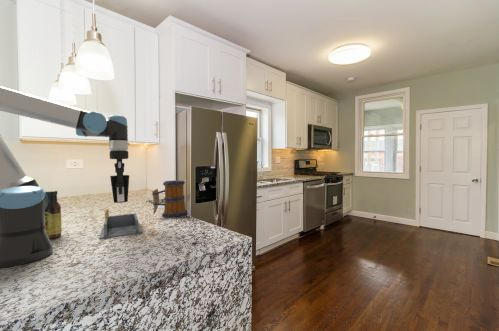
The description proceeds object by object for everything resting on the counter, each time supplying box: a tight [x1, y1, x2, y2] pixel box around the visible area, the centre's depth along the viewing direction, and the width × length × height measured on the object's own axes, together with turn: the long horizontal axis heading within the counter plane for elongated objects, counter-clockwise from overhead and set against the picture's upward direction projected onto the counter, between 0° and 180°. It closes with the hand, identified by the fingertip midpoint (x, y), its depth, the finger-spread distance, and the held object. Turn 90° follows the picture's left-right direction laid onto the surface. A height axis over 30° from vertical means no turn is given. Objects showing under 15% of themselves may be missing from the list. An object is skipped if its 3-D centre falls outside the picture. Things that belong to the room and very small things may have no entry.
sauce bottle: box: [44, 189, 63, 239], centre depth 102 cm, size 7×6×20 cm
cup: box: [109, 174, 130, 204], centre depth 109 cm, size 8×8×12 cm
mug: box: [151, 179, 189, 219], centre depth 137 cm, size 19×14×20 cm
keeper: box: [99, 208, 143, 240], centre depth 109 cm, size 18×16×9 cm
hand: (120, 200), depth 109 cm, fingers closed on cup, 8 cm apart
